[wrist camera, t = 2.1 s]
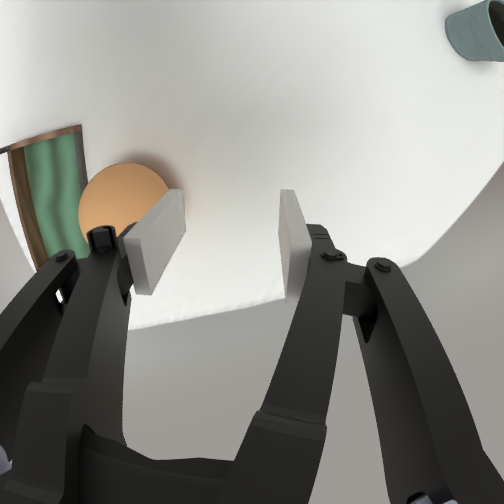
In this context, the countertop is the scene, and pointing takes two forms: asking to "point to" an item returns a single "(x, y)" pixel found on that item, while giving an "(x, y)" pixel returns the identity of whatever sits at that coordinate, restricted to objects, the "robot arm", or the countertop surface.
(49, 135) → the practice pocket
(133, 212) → the ball
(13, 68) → the countertop surface
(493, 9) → the drinking glass
